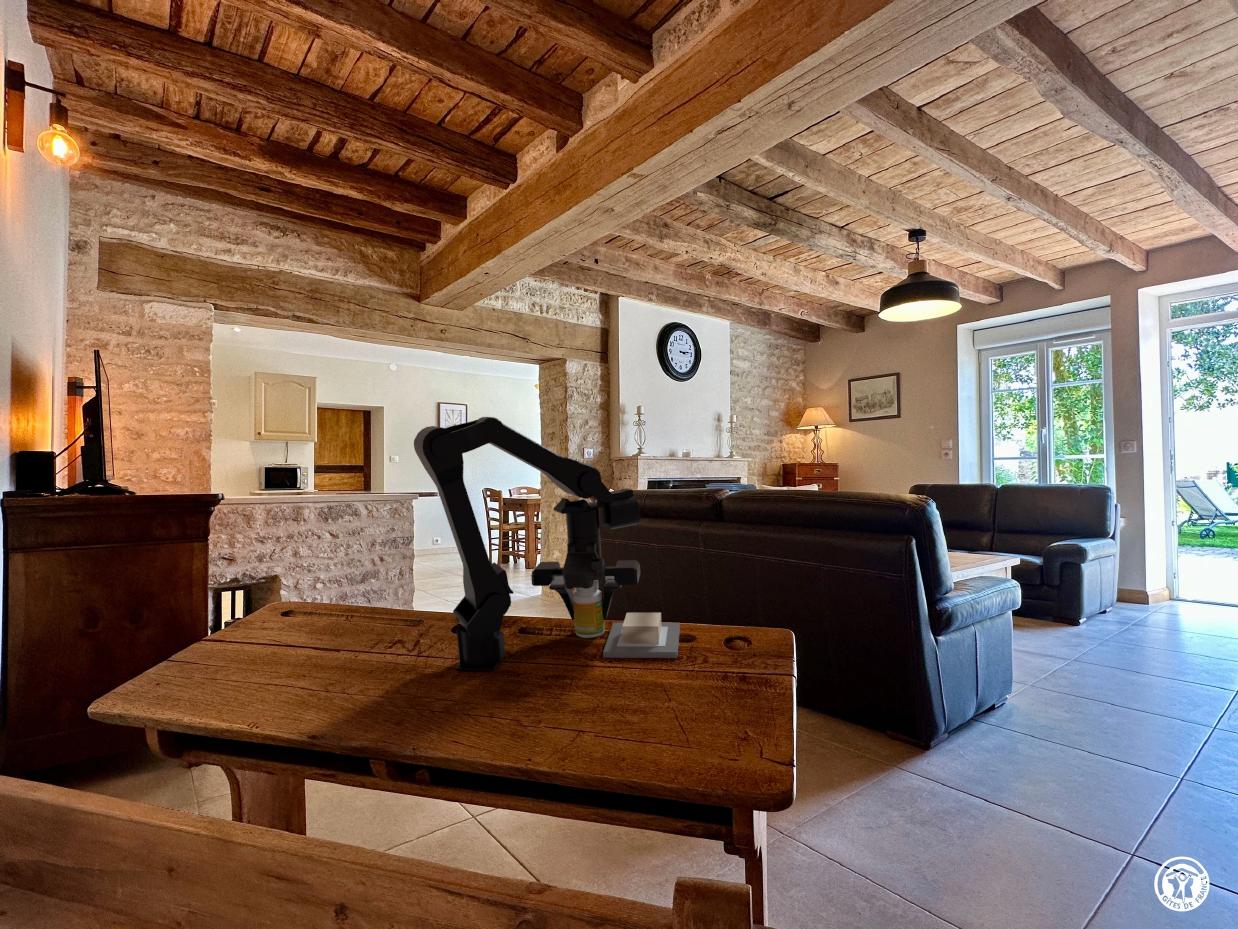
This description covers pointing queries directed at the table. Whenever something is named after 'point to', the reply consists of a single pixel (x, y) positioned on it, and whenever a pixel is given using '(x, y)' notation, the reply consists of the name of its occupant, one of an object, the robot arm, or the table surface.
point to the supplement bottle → (588, 612)
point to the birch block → (642, 628)
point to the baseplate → (629, 650)
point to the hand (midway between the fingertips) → (589, 619)
